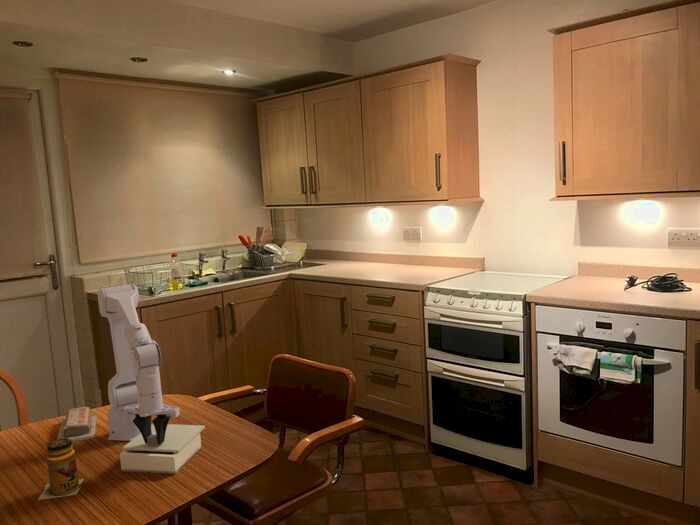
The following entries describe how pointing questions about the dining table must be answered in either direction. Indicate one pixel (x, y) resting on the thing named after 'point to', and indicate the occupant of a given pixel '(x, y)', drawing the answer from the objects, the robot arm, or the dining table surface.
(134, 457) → the carton
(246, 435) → the dining table surface
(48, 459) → the condiment
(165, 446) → the lid
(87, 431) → the packaged product
